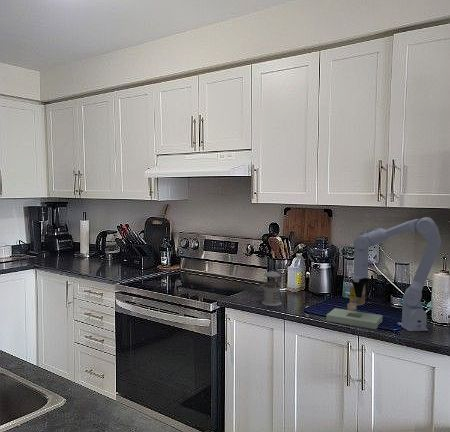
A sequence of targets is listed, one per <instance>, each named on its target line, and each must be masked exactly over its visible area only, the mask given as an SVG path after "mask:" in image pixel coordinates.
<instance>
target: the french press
mask: <svg viewBox="0 0 450 432" xmlns="http://www.w3.org/2000/svg"><path fill="white" fill-rule="evenodd" d="M270 254H271V256H272V257H271V266H272V267H271V270H270V271H267V272H265V273H263V276H264V277H267V278H272V279H274V281H273V280H270V281H265V282H264V285H263V301H261V304H262V305H265V306H267V307H268V306H269V307H270V306H271V307H274V306H275V307H276V306H280V305H282V302H281V286H280V281H279V280H280V279H279V277H281V276H282V274H280V272H277V271H274V270H273V266H274V265H273V263H274V261H273V260H274V258H273V257H274V256H273V255H275V251H270ZM277 280H278V281H277Z"/></svg>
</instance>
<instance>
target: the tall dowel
mask: <svg viewBox="0 0 450 432" xmlns="http://www.w3.org/2000/svg"><path fill="white" fill-rule="evenodd" d="M355 303H356V304H363V305H365V304H366V290H365V285H364V288H363V293H362V297H361V298H359V297H356V295H355Z"/></svg>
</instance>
